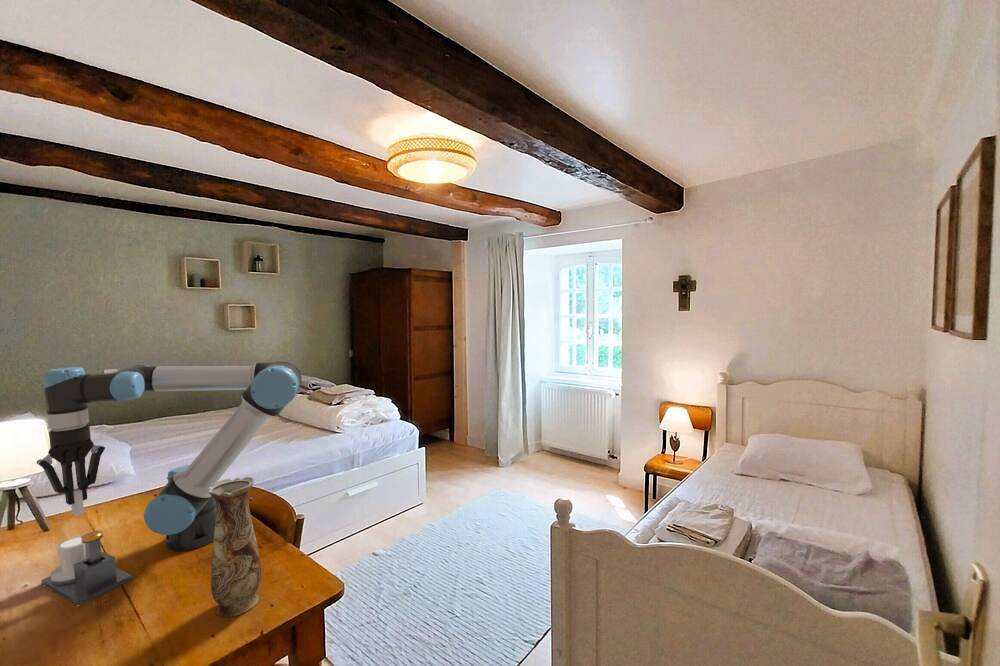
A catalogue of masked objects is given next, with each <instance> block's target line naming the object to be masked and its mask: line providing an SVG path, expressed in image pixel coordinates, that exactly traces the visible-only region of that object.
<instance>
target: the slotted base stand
mask: <svg viewBox="0 0 1000 666" xmlns="http://www.w3.org/2000/svg"><path fill="white" fill-rule="evenodd" d="M101 556H102V560H101V561H99V562H97V563H95V564H92V565H90V566H88V565H87V559H85V560H82V561H80V562H78V563H75V564H74V575H75V582H73V583H69V584H64V585H54V584H52V583H51V576H47V577H44V578H42V579H41V583H40V584H41V585H42V584H43V585H42V586H44V585H45V586H46V587H45V586H44V587H45V588H47V587H48V588H47V589H49V590H50V589H51V590H50V591H52V590H53V592H54V593H55V592H56V594H57V593H58V594H57V595H59V594H60V595H61V597H62V596H63V597H62V598H64V599H65V598H66V599H65V600H67V599H68V600H67V601H69V600H70V601H71V603H72V602H73V603H72V604H74V605H75V604H76V606H77V605H80V606H81V604H82V605H83V603H84V604H86V603H87V601H88V602H90V601H91V600H90V599H92V600H94V599H95V598H94V597H96V598H98V597H100V596H102V595H103V594H106V593H108V592H110V591H112V590H114V589H116V588H118V587H121V586H122V585H124V584H126V583H128V582H130V581H132V580H133V575H132V574H130V573H128V572H126V571H124V570H122V569H120V568H118V567H116V557H115V556H114V555H111V554H109V553H106V552H105V551H101ZM101 594H102V595H101ZM60 595H59V596H60ZM99 595H100V596H99ZM97 596H98V597H97ZM93 598H94V599H93ZM89 600H90V601H89ZM70 601H69V602H70ZM85 602H86V603H85Z"/></svg>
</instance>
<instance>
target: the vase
mask: <svg viewBox="0 0 1000 666" xmlns="http://www.w3.org/2000/svg"><path fill="white" fill-rule="evenodd" d="M254 482H255V479H254V477H250V476H246V477H244V478H241V477H235V479H233V480H231V478H228V479H227V478H226V479H221V480H218V481H217V482H216V483H215V484H214V487H209V489H208V491H207V492H208V493H209V494H210V495H211V496H212V497H213V498H214V499H215V502H216V519H215V532H214V541H213V545H212V554H211V557H212V558H211V566H210V567H211V568H210V588H211V589H210V590H211V595H212V598H213V600H214V602H215V603H217V604H218V607H217V609H216V614H217V616H219V617H221V618H232V617H236V616H239V615H242V614H245V613H246V612H248V611H249V610H251V609H253V608H255V606H256V605H257V603H258V602H259V600H260V595H259V594H258V593H257V592H258V590H259V588H260V586H261V581H262V562H261V556H260V551H259V547H258V543H257V539H256V534H255V533H256V532H255V530H254V526H253V521H252V515H251V510H250V506H249V492H250V491H251V490H252V487H253V485H254Z"/></svg>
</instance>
